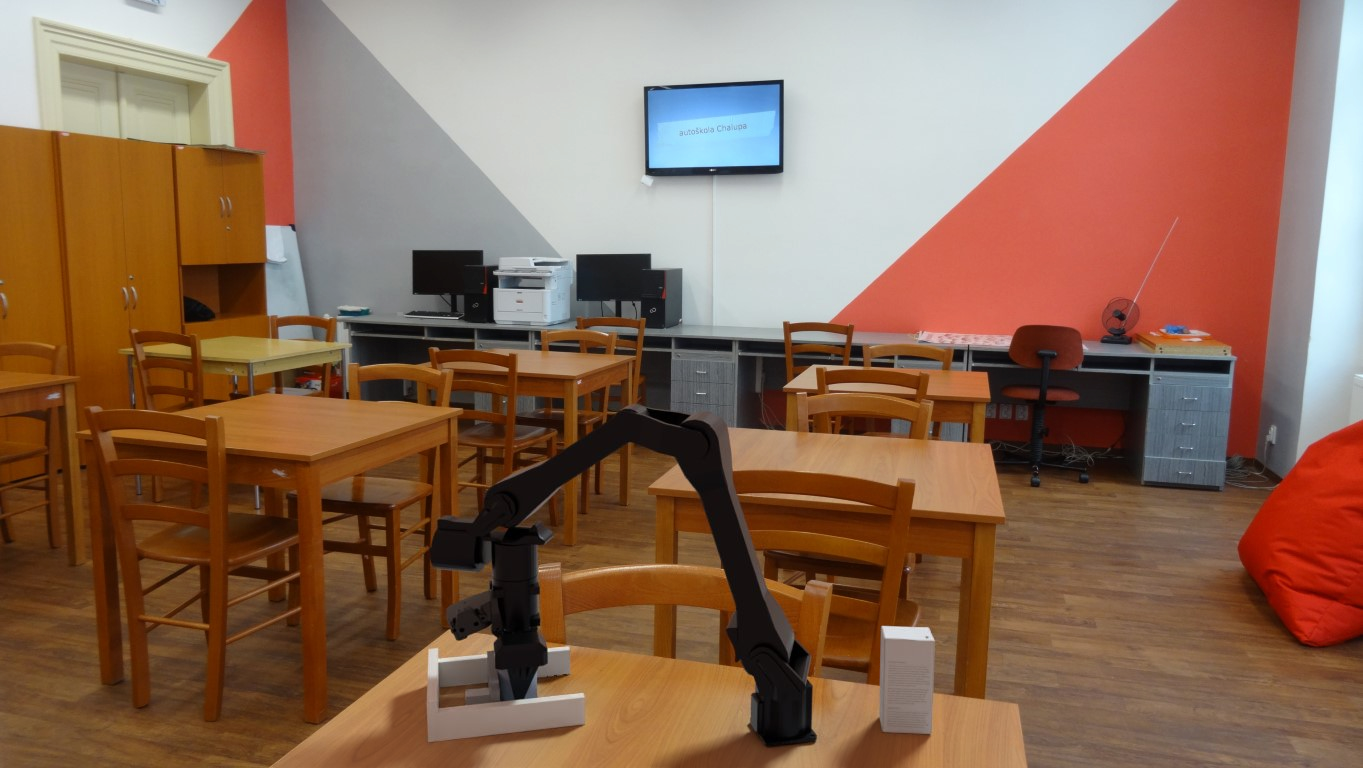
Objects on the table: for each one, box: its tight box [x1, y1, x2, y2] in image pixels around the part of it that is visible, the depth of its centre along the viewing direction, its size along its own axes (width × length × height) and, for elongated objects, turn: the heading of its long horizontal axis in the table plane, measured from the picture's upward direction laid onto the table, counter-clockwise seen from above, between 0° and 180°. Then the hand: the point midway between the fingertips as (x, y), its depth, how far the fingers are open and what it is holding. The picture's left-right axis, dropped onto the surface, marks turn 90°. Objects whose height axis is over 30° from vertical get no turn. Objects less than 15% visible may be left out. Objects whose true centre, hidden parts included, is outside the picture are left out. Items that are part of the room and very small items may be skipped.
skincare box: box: [878, 625, 936, 735], centre depth 116 cm, size 6×4×12 cm
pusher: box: [464, 650, 500, 706], centre depth 121 cm, size 4×12×4 cm, turn 14°
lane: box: [426, 645, 586, 743], centre depth 122 cm, size 19×15×5 cm
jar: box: [497, 669, 538, 702], centre depth 122 cm, size 5×5×6 cm
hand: (517, 691), depth 122 cm, fingers closed on jar, 5 cm apart
